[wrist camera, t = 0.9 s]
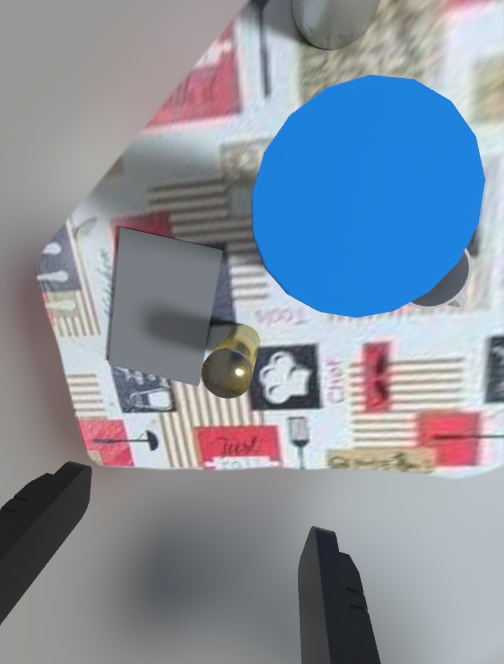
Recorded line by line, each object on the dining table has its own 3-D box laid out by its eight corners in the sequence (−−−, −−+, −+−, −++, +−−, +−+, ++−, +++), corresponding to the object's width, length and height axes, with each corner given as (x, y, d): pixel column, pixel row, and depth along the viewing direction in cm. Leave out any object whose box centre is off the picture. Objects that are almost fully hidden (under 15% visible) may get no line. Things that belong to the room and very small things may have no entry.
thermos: (264, 273, 39) (234, 302, 15) (276, 186, 37) (264, 57, 13) (345, 285, 39) (445, 335, 15) (364, 198, 36) (529, 84, 12)
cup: (395, 227, 36) (429, 219, 28) (458, 273, 37) (511, 279, 28) (357, 276, 38) (378, 283, 30) (418, 319, 39) (456, 337, 30)
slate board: (124, 227, 40) (120, 227, 39) (223, 250, 39) (222, 250, 38) (112, 361, 45) (108, 364, 44) (199, 383, 45) (197, 386, 44)
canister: (227, 320, 42) (205, 345, 30) (264, 328, 41) (256, 357, 30) (220, 354, 43) (197, 391, 32) (256, 363, 43) (246, 403, 31)
